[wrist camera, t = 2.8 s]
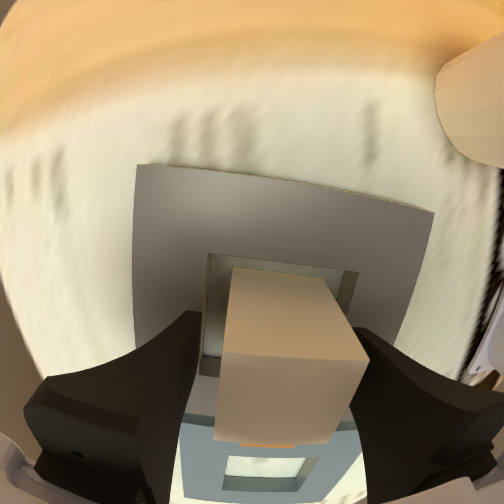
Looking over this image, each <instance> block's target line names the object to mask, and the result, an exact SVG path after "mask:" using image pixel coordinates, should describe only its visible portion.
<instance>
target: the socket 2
mask: <svg viewBox="0 0 504 504" xmlns="http://www.w3.org/2000/svg"><path fill="white" fill-rule="evenodd" d="M214 425H215V417H213V416H206V415H199V414H192V413H186V412H184V415H183V419H182V423H181V427H180V432H179V438H180V454H181V468H182V479H183V490H184V497H185V498H191V499H198V500H206V501H215V502H225V503H240V504H297V503H311V502H321V501H322V500H323V499H324V498H325V497H326V496H327V494H328V493H329V492H330V491H331V490H332V489H333V488H334V486H335V485H336V484H337V483H338V482H339V480H340V479H341V478H342V477H343V475H344V474H345V473H346V472H347V470H348V469H349V468H350V467H351V465H352V464H353V463H354V461H355V460H356V459H357V457H358V456H359V455H360V453H361V452H362V447H361V443H360V438H359V433H358V430H357V427H356V424H355V421H354V420H351V421H340V423H339V425H338V427H337V429H336V431H335V432H334V434H333V436H332V438H331V439H330V441H329V443H328V444H312V445H295V447H294V448H266V447H247V446H240V443H236V442H225V441H216V440H213V435H214ZM228 455H232V456H245V457H265V458H304V457H307V459H306V461H305V463H304V464H303V466H302V468H301V470H300V471H299V473H298V475H297V476H296V478H252V477H235V476H224V475H225V469H226V464H227V458H228Z"/></svg>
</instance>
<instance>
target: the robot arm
mask: <svg viewBox="0 0 504 504" xmlns="http://www.w3.org/2000/svg"><path fill="white" fill-rule="evenodd" d="M201 326H202V312H197V311H190V310H186V311H185V312H183V313H182V314H181V315H180V316H179V317H178V318H177V319H176V320H175V321H174V322H172V323H171V324H170V325H169V326H168V327H167V328H165V329H164V330H163V331H162V332H160V333H159V334H158V335H157V336H155V337H154V338H152V339H151V340H149V341H148V342H147V343H145V344H144V345H142V346H141V347H139V348H137V349H135V350H134V351H132V352H130V353H128V354H126V355H124V356H122V357H119V358H117V359H115V360H112V361H110V362H107V363H105V364H102V365H99V366H96V367H93V368H90V369H86V370H82V371H78V372H74V373H68V374H62V375H55V376H47V377H46V378H45V380H44V381H43V382H42V383H41V384H40V386H39V387H38V388H37V390H36V391H35V393H34V394H33V396H32V397H31V398H30V399H29V401H28V402H27V404H26V406H25V407H24V409H23V410H24V417H25V420H26V422H27V424H28V426H29V428H30V430H31V431H32V433H33V435H34V437H35V438H36V440H37V441H38V443H39V445H40V446H41V448H42V449H43V451H42V453H41V455H40V456H39V458H38V460H37V462H36V463H35V462H33V461H32V460H30V459H28V458H26V457H25V455H24V453H23V452H22V450H21V449H20V448H19V446H18V445H17V444H16V443H15V442H13V441H12V440H11V439H9V438H8V437H6V436H5V435H3V434H2V433H0V504H169V500H170V491H171V483H172V476H173V469H174V462H175V456H176V449H177V443H178V438H179V432H180V427H181V423H182V419H183V415H184V412H185V409H186V406H187V402H188V399H189V396H190V393H191V390H192V386H193V383H194V380H195V377H196V372H197V367H198V361H199V355H200V341H201ZM352 329H353V331H354V333H355V334H356V336H357V338H358V340H359V341H360V343H361V345H362V347H363V349H364V350H365V352H366V354H367V356H368V358H369V359H370V361H369V363H368V365H367V368H366V370H365V372H364V375H363V377H362V379H361V381H360V383H359V385H358V388H357V390H356V392H355V394H354V396H353V398H352V400H351V402H350V404H349V407H350V410H351V413H352V416H353V418H354V421H355V424H356V427H357V430H358V433H359V438H360V443H361V447H362V452H363V459H364V465H365V473H366V484H367V504H504V451H503V452H502V453H501V454H500V455H499V456H498V457H497V458H496V460H495V458H494V456H493V455H492V453H491V452H490V451H491V450H492V449H493V448H494V445H493V444H492V442H491V441H492V439H493V438H494V437H495V436H496V434H497V433H498V432H499V431H500V430H501V428H502V427H503V426H504V393H503V392H497V391H491V390H485V389H481V388H477V387H473V386H469V385H466V384H463V383H460V382H457V381H455V380H452V379H449V378H447V377H445V376H442V375H440V374H438V373H436V372H434V371H432V370H430V369H428V368H426V367H424V366H423V365H421V364H419V363H418V362H416V361H414V360H413V359H411V358H410V357H408V356H406V355H405V354H403V353H402V352H401V351H399V350H398V349H396V348H395V347H393V346H392V345H390V344H389V343H388V342H386V341H385V340H383V339H382V338H381V337H379V336H378V335H376V334H375V333H373V332H372V331H370V330H368V329H366V328H364V327H352ZM495 369H496V370H497V371H498V372H499V373H500V375H501V376H502V377H503V378H504V287H503V290H502V293H501V295H500V298H499V301H498V303H497V306H496V309H495V311H494V313H493V316H492V318H491V321H490V323H489V325H488V328H487V330H486V332H485V334H484V336H483V338H482V341H481V343H480V345H479V347H478V349H477V351H476V353H475V355H474V357H473V359H472V360H471V362H470V364H469V366H468V368H467V371H468V373H469V374H475V373H480V372H485V371H490V370H495Z"/></svg>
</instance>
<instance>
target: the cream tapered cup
mask: <svg viewBox="0 0 504 504" xmlns="http://www.w3.org/2000/svg"><path fill="white" fill-rule="evenodd" d="M434 97H435V104H436V110H437V115H438V118H439V120H440V122H441V125H442V127H443V130H444V132H445V135H446V136H447V137H448V139H449V140H450V142H451V143H452V144H453V146H454V147H455V148H456V150H457V151H458V152H460V153H461V154H462V155H464V156H465V157H467V158H468V159H470V160H472V161H476V162H480V163H484V164H488V165H492V166H495V167H499V168H503V169H504V32H502V33H500V34H498V35H496V36H494V37H493V38H491V39H489V40H487V41H485V42H483V43H481V44H479V45H477V46H475V47H474V48H472V49H470V50H468V51H466V52H465V53H463V54H461V55H459V56H457V57H456V58H454V59H452V60H450V61H449V62H447V63H445V64H444V65H443V67H442V68H441V69H440V71H439V72H438V73H437V75H436V82H435V88H434Z"/></svg>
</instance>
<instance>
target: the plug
mask: <svg viewBox="0 0 504 504" xmlns="http://www.w3.org/2000/svg"><path fill="white" fill-rule="evenodd" d="M369 361H370V359H369V358H368V356H367V354H366V352H365V350H364V349H363V347H362V345H361V343H360V341H359V340H358V338H357V336H356V334H355V333H354V331H353V329H352V327H351V326H350V324H349V322H348V321H347V319H346V317H345V315H344V314H343V312H342V310H341V309H340V307H339V305H338V304H337V302H336V300H335V298H334V297H333V295H332V293H331V292H330V290H329V288H328V287H327V285H326V283H325V282H324V280H323V279H322V278H319V277H310V276H302V275H293V274H285V273H277V272H269V271H261V270H253V269H245V268H237V267H233V270H232V278H231V286H230V293H229V301H228V309H227V317H226V325H225V334H224V342H223V350H222V359H221V368H220V377H219V386H218V396H217V405H216V415H215V425H214V435H213V440H216V441H225V442H236V443H240V446H247V447H266V448H294V447H295V445H312V444H328V443H329V441H330V439H331V438H332V436H333V434H334V432H335V431H336V429H337V427H338V425H339V423H340V421H341V419H342V418H343V416H344V414H345V412H346V410H347V408H348V406H349V404H350V402H351V400H352V398H353V396H354V394H355V392H356V390H357V388H358V385H359V383H360V381H361V379H362V377H363V375H364V372H365V370H366V368H367V365H368V363H369Z"/></svg>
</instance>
